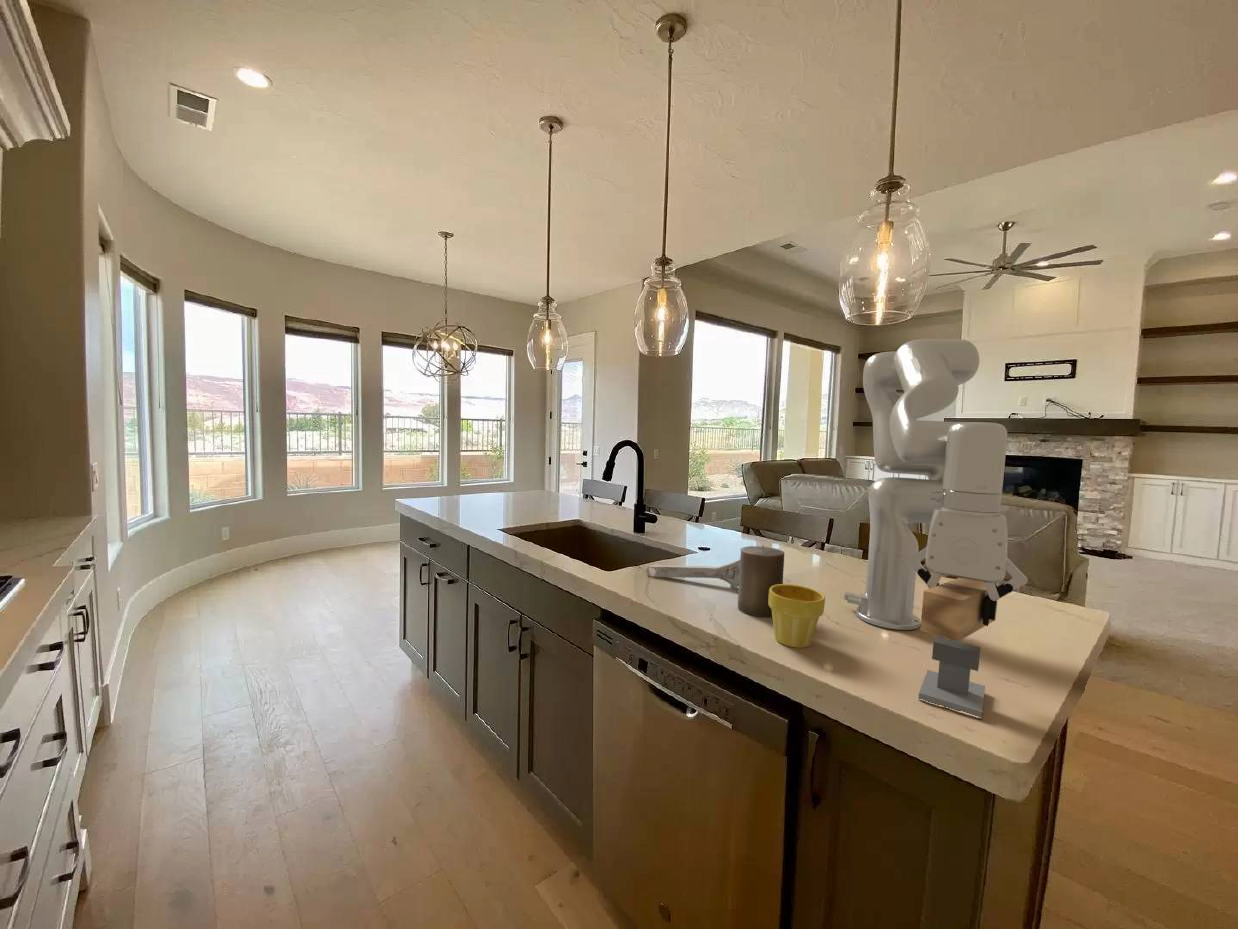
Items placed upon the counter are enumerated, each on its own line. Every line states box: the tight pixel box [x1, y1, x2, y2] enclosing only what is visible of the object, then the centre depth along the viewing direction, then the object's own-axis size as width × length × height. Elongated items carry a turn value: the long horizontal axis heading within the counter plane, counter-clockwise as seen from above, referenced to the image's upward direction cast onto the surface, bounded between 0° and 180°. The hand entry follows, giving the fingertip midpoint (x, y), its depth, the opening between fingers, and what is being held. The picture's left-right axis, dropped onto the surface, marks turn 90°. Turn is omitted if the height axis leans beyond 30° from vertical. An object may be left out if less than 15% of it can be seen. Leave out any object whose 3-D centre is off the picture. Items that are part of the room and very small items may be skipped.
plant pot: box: [768, 583, 826, 648], centre depth 100 cm, size 10×10×10 cm
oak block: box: [919, 577, 1000, 642], centre depth 80 cm, size 5×16×6 cm, turn 128°
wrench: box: [645, 558, 740, 590], centre depth 135 cm, size 8×2×30 cm
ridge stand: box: [918, 635, 986, 719], centre depth 81 cm, size 8×10×8 cm
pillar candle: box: [737, 544, 785, 618], centre depth 116 cm, size 10×10×15 cm
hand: (959, 616), depth 80 cm, fingers closed on oak block, 6 cm apart
